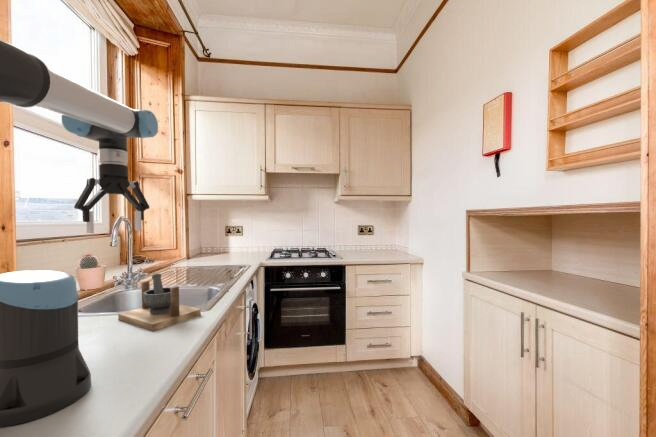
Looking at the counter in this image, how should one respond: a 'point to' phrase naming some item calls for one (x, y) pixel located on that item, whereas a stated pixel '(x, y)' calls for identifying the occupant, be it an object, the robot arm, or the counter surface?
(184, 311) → the peg board
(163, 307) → the mortar and pestle
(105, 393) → the counter surface
